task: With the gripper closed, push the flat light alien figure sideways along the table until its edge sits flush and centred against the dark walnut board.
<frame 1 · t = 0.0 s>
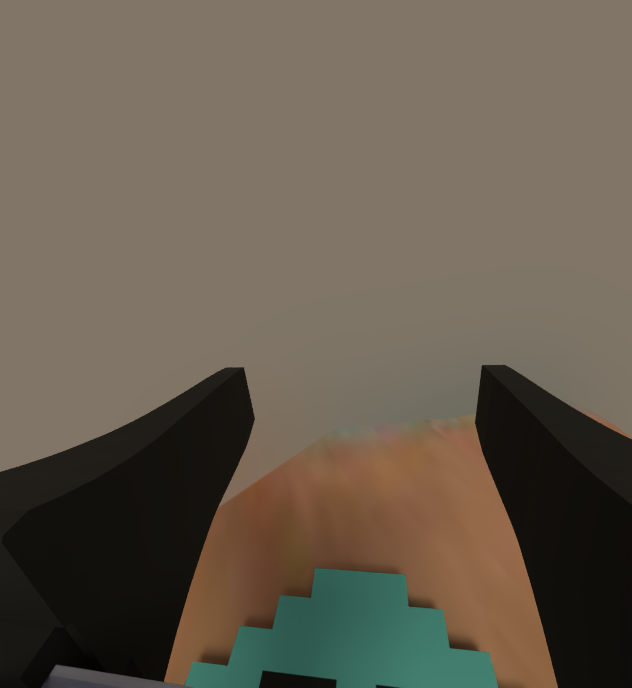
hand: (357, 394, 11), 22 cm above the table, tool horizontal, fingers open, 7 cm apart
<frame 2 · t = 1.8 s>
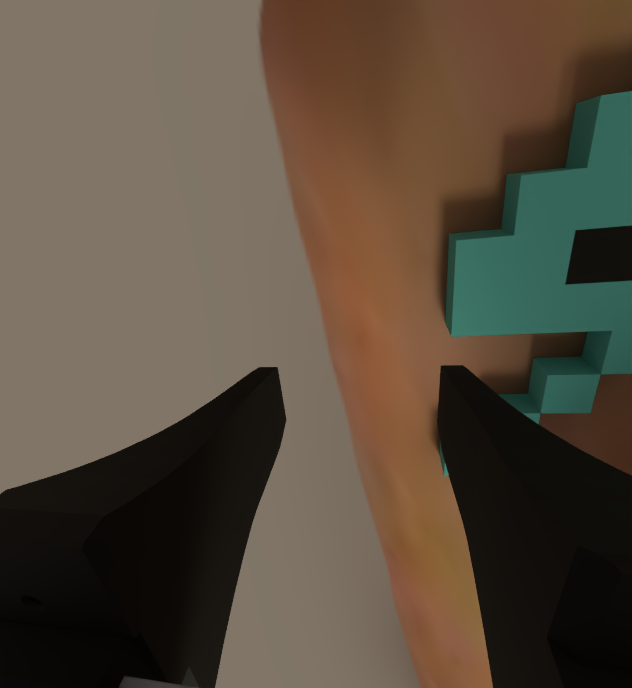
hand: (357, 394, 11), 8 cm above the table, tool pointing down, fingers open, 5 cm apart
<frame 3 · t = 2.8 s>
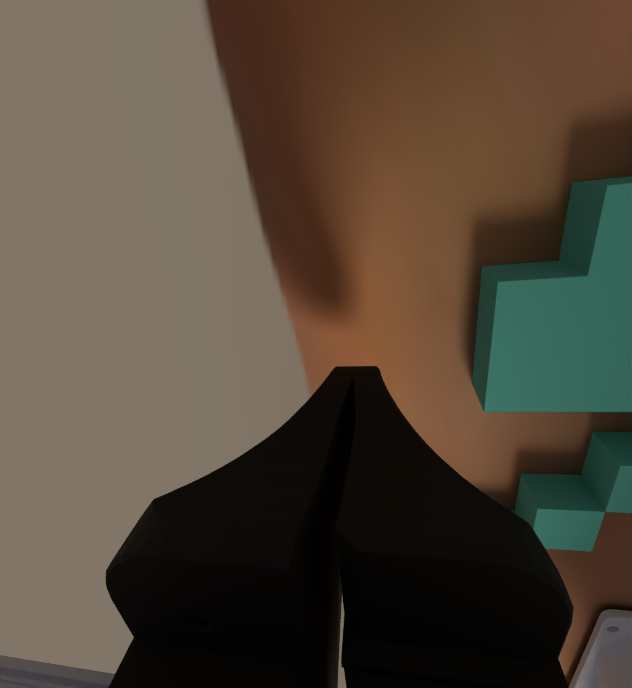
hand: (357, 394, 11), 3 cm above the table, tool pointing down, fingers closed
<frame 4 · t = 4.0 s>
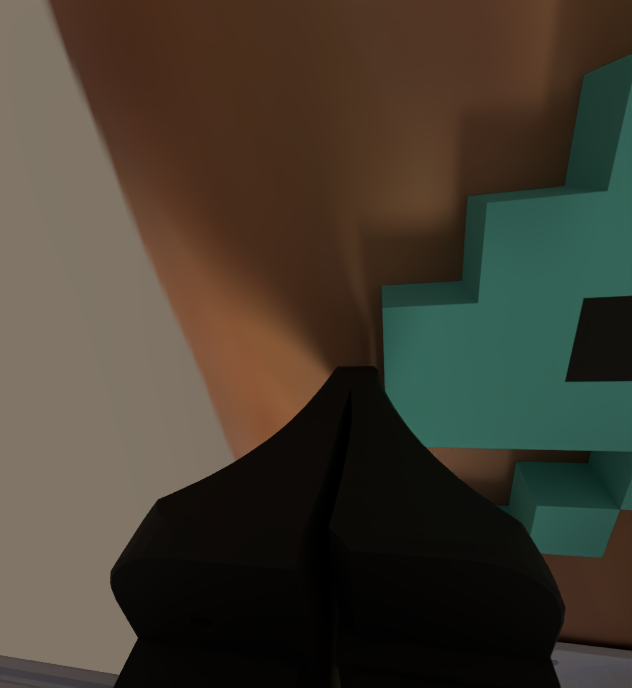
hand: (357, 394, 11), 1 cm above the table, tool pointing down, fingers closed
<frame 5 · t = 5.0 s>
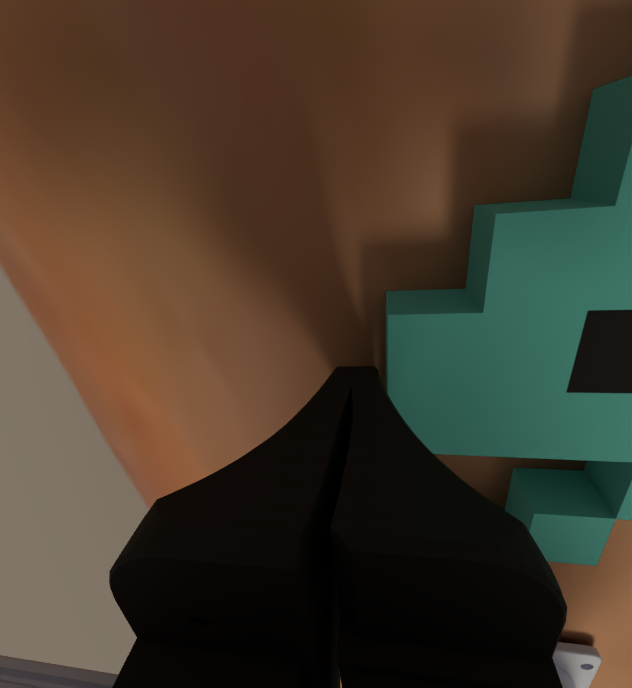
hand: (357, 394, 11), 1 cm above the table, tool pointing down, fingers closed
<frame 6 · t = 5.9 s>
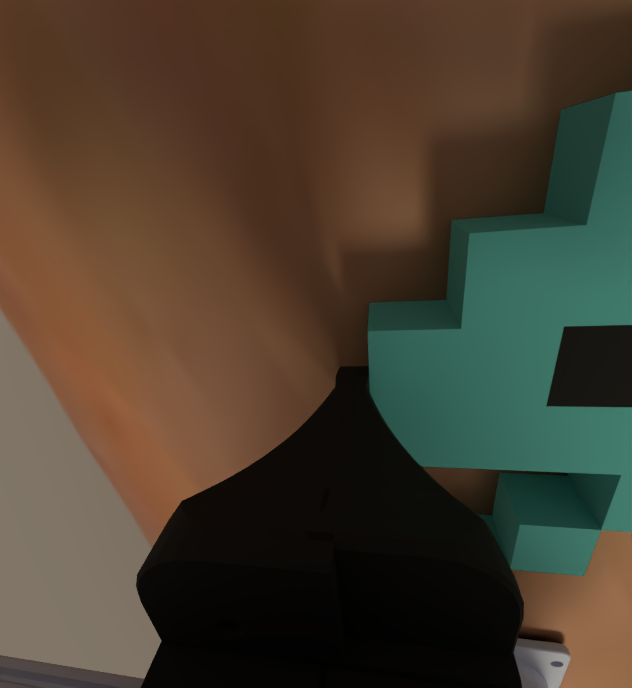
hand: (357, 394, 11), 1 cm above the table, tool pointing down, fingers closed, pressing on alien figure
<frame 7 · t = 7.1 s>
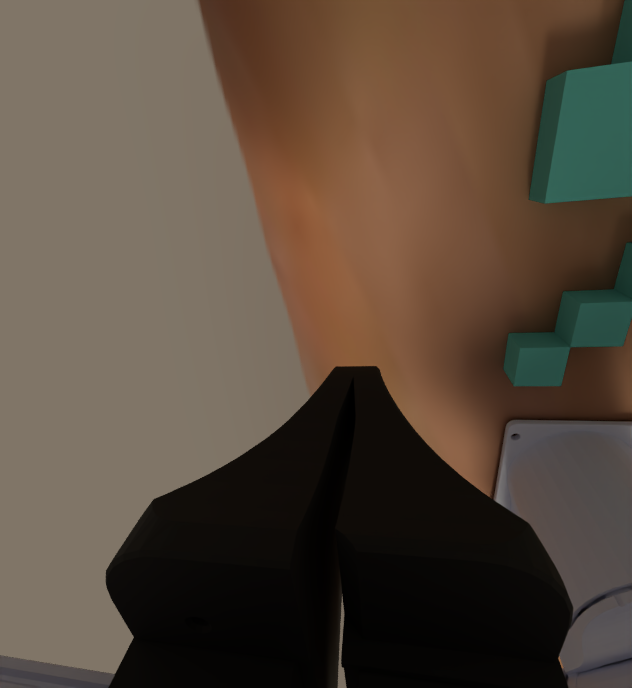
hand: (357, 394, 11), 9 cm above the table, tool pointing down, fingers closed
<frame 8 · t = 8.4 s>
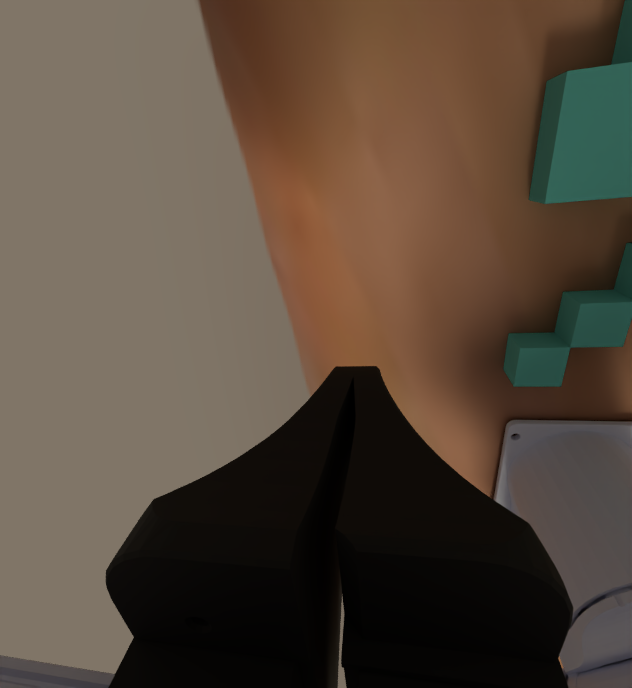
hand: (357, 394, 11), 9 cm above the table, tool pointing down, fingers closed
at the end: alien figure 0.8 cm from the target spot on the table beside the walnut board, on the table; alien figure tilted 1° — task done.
